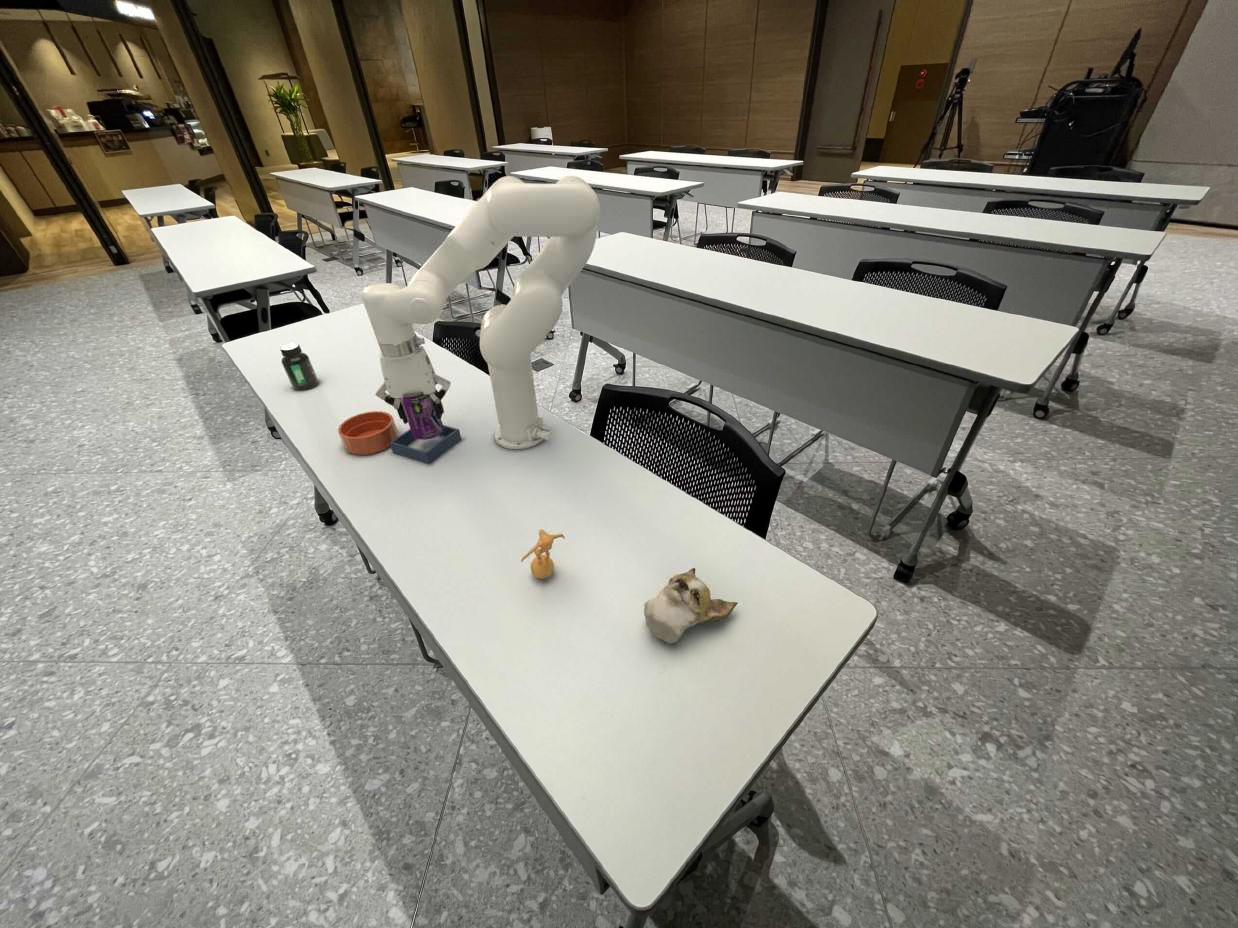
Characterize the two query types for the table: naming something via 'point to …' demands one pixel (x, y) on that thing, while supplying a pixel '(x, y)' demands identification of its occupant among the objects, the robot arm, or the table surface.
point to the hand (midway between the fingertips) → (423, 417)
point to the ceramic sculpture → (683, 607)
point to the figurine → (542, 563)
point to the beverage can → (421, 416)
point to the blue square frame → (432, 454)
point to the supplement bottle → (298, 367)
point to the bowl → (368, 432)
